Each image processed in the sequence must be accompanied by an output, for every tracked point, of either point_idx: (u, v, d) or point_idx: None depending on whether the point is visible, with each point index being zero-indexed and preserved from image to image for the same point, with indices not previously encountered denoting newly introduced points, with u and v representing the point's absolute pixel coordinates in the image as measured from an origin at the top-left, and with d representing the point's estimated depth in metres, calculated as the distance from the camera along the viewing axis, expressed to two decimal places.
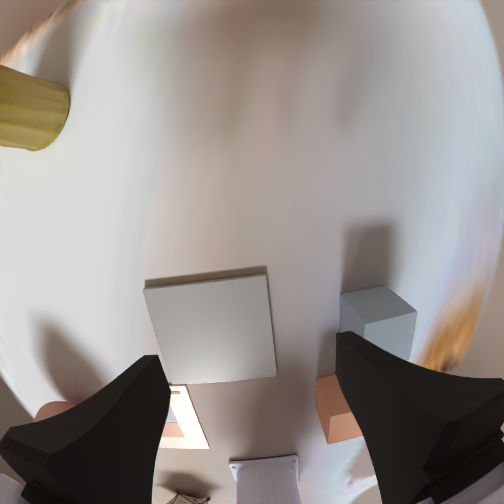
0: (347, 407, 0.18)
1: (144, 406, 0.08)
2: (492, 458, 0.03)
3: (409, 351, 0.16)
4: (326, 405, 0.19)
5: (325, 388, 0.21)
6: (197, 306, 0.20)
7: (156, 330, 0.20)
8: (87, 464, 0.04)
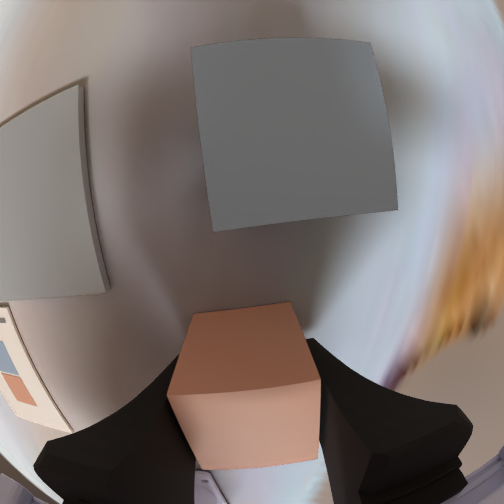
0: (224, 379, 0.07)
1: None
2: (492, 458, 0.03)
3: (391, 175, 0.05)
4: (178, 367, 0.08)
5: (198, 332, 0.10)
6: (3, 156, 0.09)
7: None
8: (143, 475, 0.04)
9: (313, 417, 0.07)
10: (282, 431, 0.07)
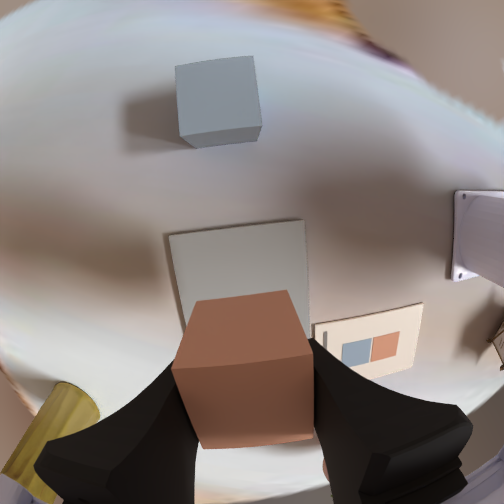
0: (224, 354, 0.08)
1: None
2: (492, 458, 0.03)
3: (238, 58, 0.11)
4: None
5: (200, 316, 0.10)
6: None
7: None
8: (143, 475, 0.04)
9: (307, 392, 0.08)
10: (278, 406, 0.08)
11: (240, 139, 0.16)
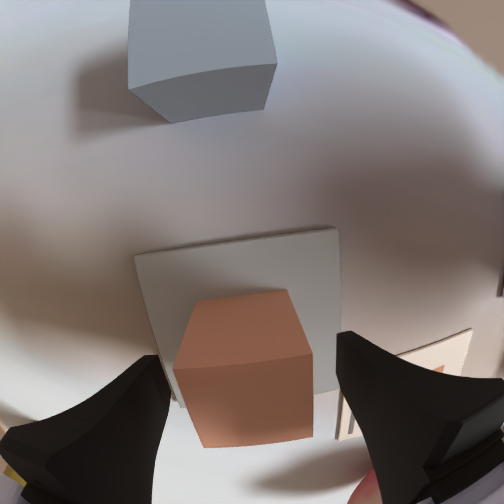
0: (225, 354, 0.08)
1: (144, 406, 0.08)
2: (492, 458, 0.03)
3: None
4: None
5: (200, 316, 0.11)
6: None
7: None
8: (87, 464, 0.04)
9: (307, 392, 0.08)
10: (278, 406, 0.08)
11: (238, 103, 0.09)
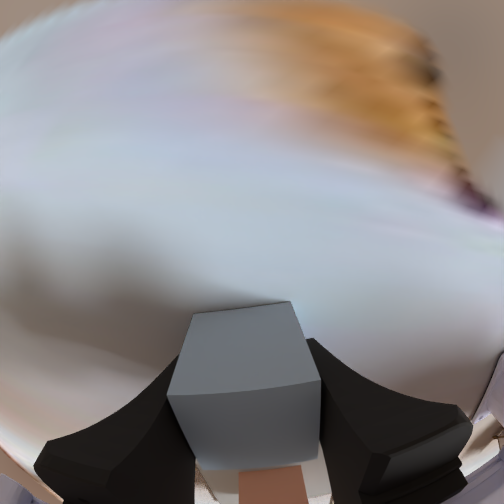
0: None
1: None
2: (492, 458, 0.03)
3: (291, 388, 0.06)
4: None
5: (245, 491, 0.12)
6: (233, 488, 0.14)
7: None
8: (143, 475, 0.04)
9: None
10: None
11: None
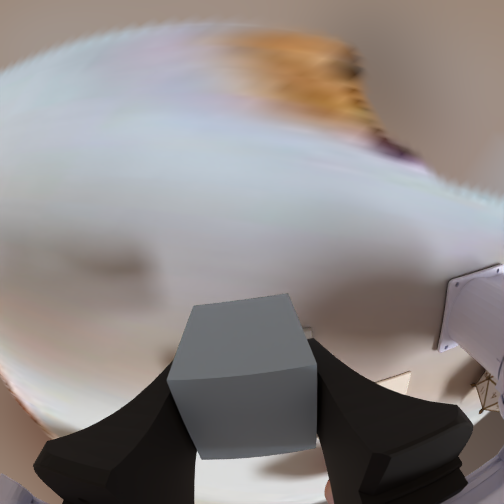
0: None
1: None
2: (492, 458, 0.03)
3: (288, 373, 0.07)
4: None
5: None
6: None
7: None
8: (143, 475, 0.04)
9: None
10: None
11: None
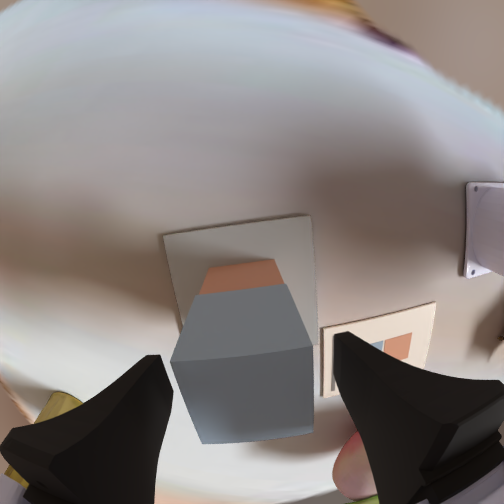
0: None
1: (147, 406, 0.08)
2: (492, 458, 0.03)
3: (286, 354, 0.07)
4: (201, 290, 0.14)
5: (213, 275, 0.15)
6: None
7: None
8: (90, 465, 0.04)
9: None
10: None
11: None
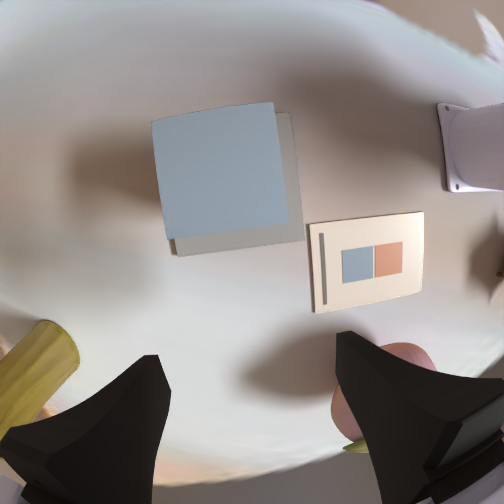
0: None
1: (144, 406, 0.08)
2: (492, 458, 0.03)
3: (250, 107, 0.08)
4: None
5: None
6: None
7: (225, 248, 0.19)
8: (87, 464, 0.04)
9: None
10: None
11: None
